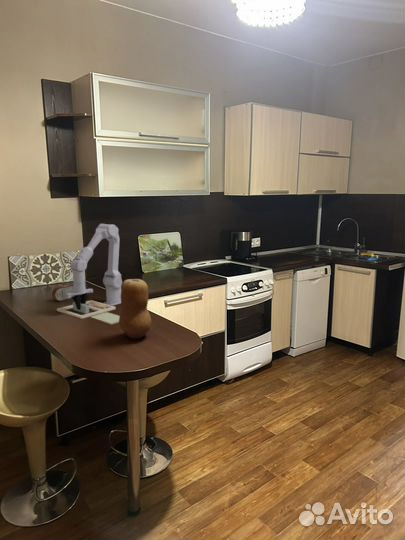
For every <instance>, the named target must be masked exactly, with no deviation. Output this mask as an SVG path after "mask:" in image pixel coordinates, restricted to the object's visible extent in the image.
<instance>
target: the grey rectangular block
mask: <svg viewBox="0 0 405 540" xmlns="http://www.w3.org/2000/svg"><path fill="white" fill-rule="evenodd" d="M72 305H73V308H72V310H73V311H75V312H79V313H81V314H84V315H85V314H89V313H90V309H89V305H88V304H82V303H80V305H81V309H80V310H78V309H77V307H76V304H75V302H74V301H73V302H72Z"/></svg>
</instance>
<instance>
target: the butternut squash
mask: <svg viewBox="0 0 405 540" xmlns="http://www.w3.org/2000/svg"><path fill="white" fill-rule="evenodd" d="M148 303H149V285H148V284H147V282H146V281H144V280H142V279H140V278H132V279H131V278H129V279H125V280H124V281H122V285H121V303H120V305H121V306H120V307H121V308H120V314H119V316H120V317H119V322H118V323H119V326H120V329H121V330H122V331H123V333H124V334H126V336H127V337H129V338H130V339H132V340H137V339H141V338H142V337H144V336H146V334H147V333H148V332H149V331H150V330H151V328H152V317H151V314H150V313H149V310H148Z"/></svg>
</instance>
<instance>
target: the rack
mask: <svg viewBox="0 0 405 540" xmlns="http://www.w3.org/2000/svg"><path fill="white" fill-rule="evenodd" d="M91 303H97V304H100V305H104V306H106V308H107V309H103V310H102V309H99V308H95V307H92V306H89V310H92V312H89V313H87V314H85V313H84V314H82V315H81V314H78V313H75V312H72V311H69V310H70V309H73V304H71V305H67V306H62V307H59V308H56V311H57V312H59V313H62V314H66V315H69V316H72V317H75V318H77V319H85V318H89V317H91V316H95V315H98V314H102V313H105V312H110V311H114V310H116V306H115V305H108V304H105V303H104V302H103V303H102V302H99V301H95V300H92V299H90V300H87V301H86V305H88V304H91ZM93 311H94V312H93Z"/></svg>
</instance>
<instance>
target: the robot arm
mask: <svg viewBox="0 0 405 540" xmlns="http://www.w3.org/2000/svg"><path fill="white" fill-rule="evenodd" d="M90 239H91V240H90V242H89V243H88V244H87V246H84V247H83V248H81V249H80V252H79V254H77V256H76V257H75V258H74V259H73V260H72V261H71V262H70V264H69V267H70V270H71V273H72V278H73V279H72V280H73V283H72V284H73V285H74V291H73V292H71V293H68V294H66V297H67V298H70V297H72V299H71V300H73V302H75V304H76V307H77V309H78V310H80V309H81V305H80V303H82V304H86V301H88V299H89V294H90V293H91V294H92V293H94V289H93V288H87V287H86V274H85V273H86V271H85V270H87V267H88V262H89V261H90V260H91V258H92V257H93V255H94V250H95V249H96V247H97V246H98V244H100V242H101V241H102V240H103V239H106V240H107V241H108V259H107V270H106V271H105V272H104V275H103V278H102V283H103V285H104V287H105V289H106V290H105V292H106V294H105V295H106V301H104V302H103V304H107V305H111V306H117V305H119V304H120V305H121V286H122V284H123V280H122V274H121V273H120V271H119V257H120V242H121V241H120V235H119V228H118V227H117V225H115V224H110V223H109V224H106V223H99V225H98V226H97V227H96V228H95V233H94V235H93V236H92V238H90ZM86 305H87V304H86Z"/></svg>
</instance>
